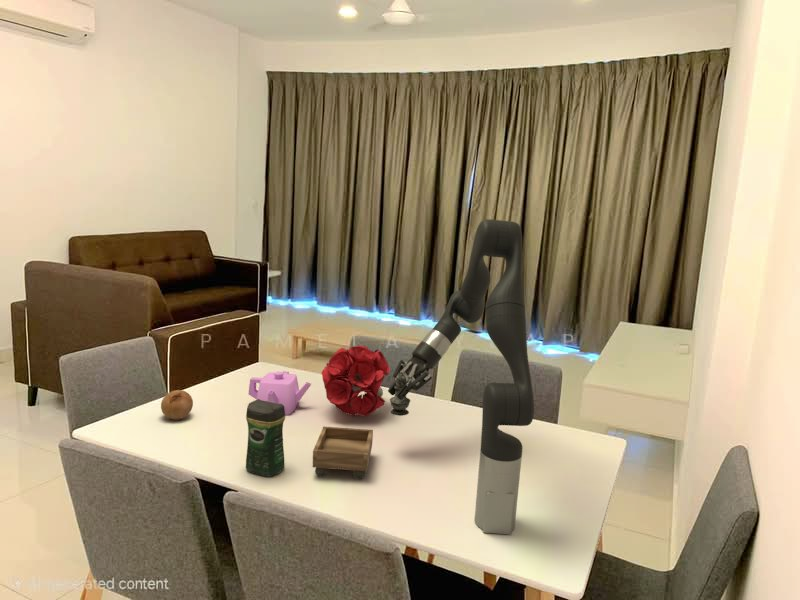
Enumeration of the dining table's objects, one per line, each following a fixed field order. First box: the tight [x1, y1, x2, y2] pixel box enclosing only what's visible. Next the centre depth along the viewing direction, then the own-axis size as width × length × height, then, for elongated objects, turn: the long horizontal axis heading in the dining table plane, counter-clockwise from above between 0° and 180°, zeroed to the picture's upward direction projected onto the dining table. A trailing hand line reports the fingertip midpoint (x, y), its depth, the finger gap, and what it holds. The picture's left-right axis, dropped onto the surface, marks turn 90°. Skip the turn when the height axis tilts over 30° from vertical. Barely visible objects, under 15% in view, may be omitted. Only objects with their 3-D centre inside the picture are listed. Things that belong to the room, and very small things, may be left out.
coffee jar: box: [245, 399, 286, 477], centre depth 152 cm, size 10×8×19 cm
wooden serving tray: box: [312, 426, 374, 480], centre depth 157 cm, size 16×14×8 cm
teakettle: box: [248, 370, 312, 416], centre depth 196 cm, size 17×17×12 cm
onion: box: [160, 389, 194, 421], centre depth 183 cm, size 10×9×10 cm
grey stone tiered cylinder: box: [389, 371, 411, 417], centre depth 164 cm, size 6×6×12 cm
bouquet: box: [321, 345, 391, 417], centre depth 198 cm, size 22×24×30 cm
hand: (394, 395), depth 163 cm, fingers closed on grey stone tiered cylinder, 3 cm apart
